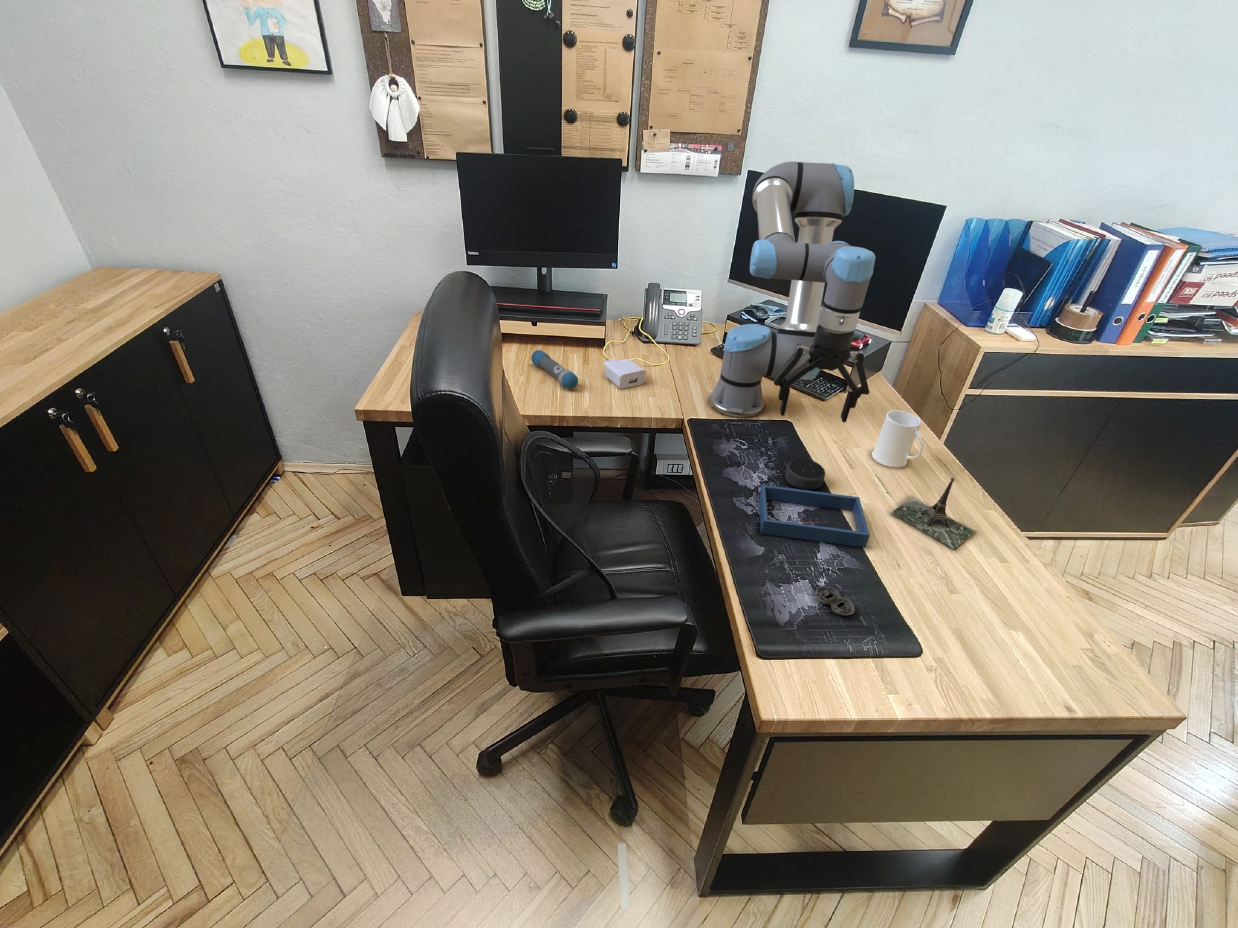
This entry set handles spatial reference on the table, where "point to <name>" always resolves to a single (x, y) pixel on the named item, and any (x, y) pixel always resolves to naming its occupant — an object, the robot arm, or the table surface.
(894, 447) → the mug
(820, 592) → the corroded twin loop
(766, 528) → the rectangular frame
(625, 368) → the charger
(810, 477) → the smart speaker
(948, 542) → the eiffel tower figurine
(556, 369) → the grey and blue rod
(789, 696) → the table surface
